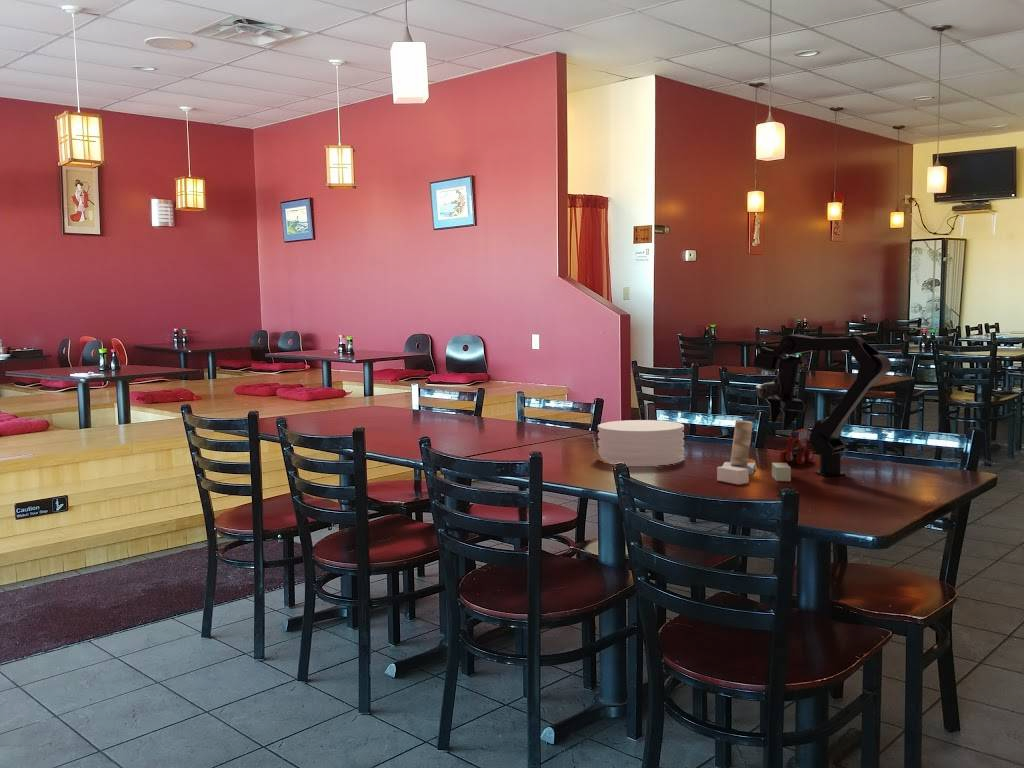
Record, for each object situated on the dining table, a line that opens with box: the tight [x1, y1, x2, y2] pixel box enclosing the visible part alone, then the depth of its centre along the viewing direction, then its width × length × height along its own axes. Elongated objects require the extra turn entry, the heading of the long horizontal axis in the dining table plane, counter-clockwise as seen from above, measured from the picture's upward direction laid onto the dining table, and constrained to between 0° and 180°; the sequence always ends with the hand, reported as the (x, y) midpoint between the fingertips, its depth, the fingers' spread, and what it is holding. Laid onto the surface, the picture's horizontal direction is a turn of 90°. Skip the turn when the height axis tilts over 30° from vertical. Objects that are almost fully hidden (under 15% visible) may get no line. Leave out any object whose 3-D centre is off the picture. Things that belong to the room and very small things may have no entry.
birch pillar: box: [729, 419, 754, 466], centre depth 265 cm, size 4×4×13 cm
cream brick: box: [716, 465, 750, 485], centre depth 250 cm, size 8×4×4 cm, turn 34°
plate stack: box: [597, 419, 685, 467], centre depth 290 cm, size 28×28×12 cm
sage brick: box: [771, 462, 792, 482], centre depth 253 cm, size 8×4×4 cm, turn 172°
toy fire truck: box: [779, 428, 814, 465], centre depth 278 cm, size 7×12×10 cm, turn 136°
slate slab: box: [722, 461, 756, 475], centre depth 266 cm, size 9×9×2 cm
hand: (778, 425), depth 268 cm, fingers open, 9 cm apart
